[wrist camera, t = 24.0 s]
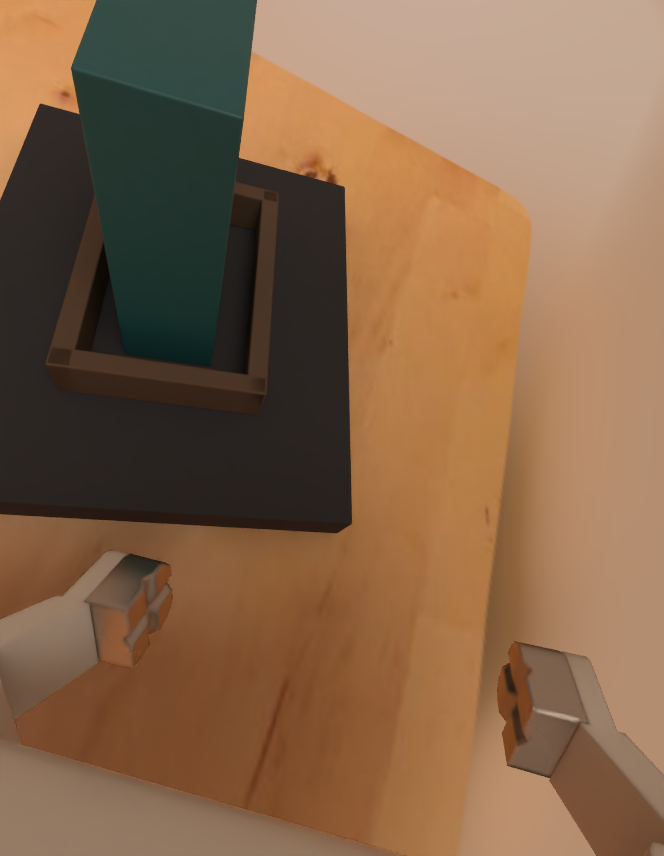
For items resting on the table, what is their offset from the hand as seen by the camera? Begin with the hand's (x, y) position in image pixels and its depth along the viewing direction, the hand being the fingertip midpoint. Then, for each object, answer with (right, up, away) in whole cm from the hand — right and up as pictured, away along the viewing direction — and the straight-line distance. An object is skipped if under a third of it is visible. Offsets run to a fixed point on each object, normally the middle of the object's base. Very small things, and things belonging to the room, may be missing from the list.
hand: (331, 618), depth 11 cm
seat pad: (-7, +10, +12) cm, 17 cm away
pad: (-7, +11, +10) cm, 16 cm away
